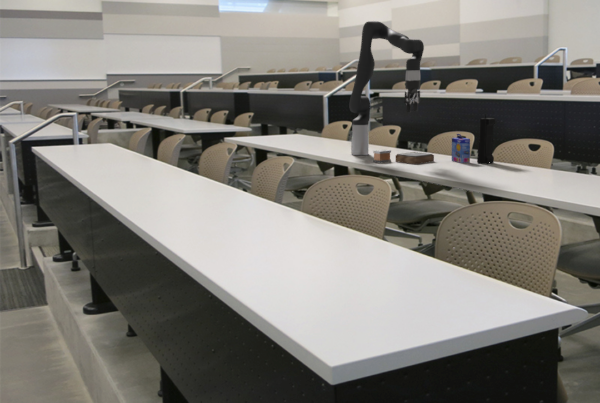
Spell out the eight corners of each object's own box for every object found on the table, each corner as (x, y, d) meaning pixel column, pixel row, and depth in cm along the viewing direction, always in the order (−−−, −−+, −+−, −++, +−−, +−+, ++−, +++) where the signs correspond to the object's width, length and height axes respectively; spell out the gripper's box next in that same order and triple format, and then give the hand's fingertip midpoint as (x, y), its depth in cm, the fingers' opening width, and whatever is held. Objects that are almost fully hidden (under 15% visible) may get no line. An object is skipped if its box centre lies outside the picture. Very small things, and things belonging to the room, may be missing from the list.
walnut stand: (395, 161, 338) (395, 154, 337) (413, 159, 346) (414, 151, 345) (415, 164, 327) (415, 156, 326) (433, 161, 335) (434, 153, 334)
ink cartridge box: (450, 160, 336) (451, 133, 334) (459, 160, 338) (460, 132, 335) (460, 163, 327) (461, 134, 324) (470, 162, 329) (471, 134, 326)
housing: (373, 162, 338) (373, 150, 337) (384, 160, 343) (384, 149, 342) (379, 163, 334) (379, 151, 333) (390, 161, 339) (390, 150, 338)
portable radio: (484, 161, 331) (485, 112, 326) (494, 162, 327) (496, 113, 322) (476, 163, 325) (477, 113, 321) (487, 164, 321) (488, 114, 316)
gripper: (411, 79, 336) (411, 110, 340) (400, 79, 325) (399, 112, 328) (425, 79, 332) (424, 110, 336) (413, 79, 321) (413, 112, 324)
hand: (412, 111), depth 332 cm, fingers open, 8 cm apart
